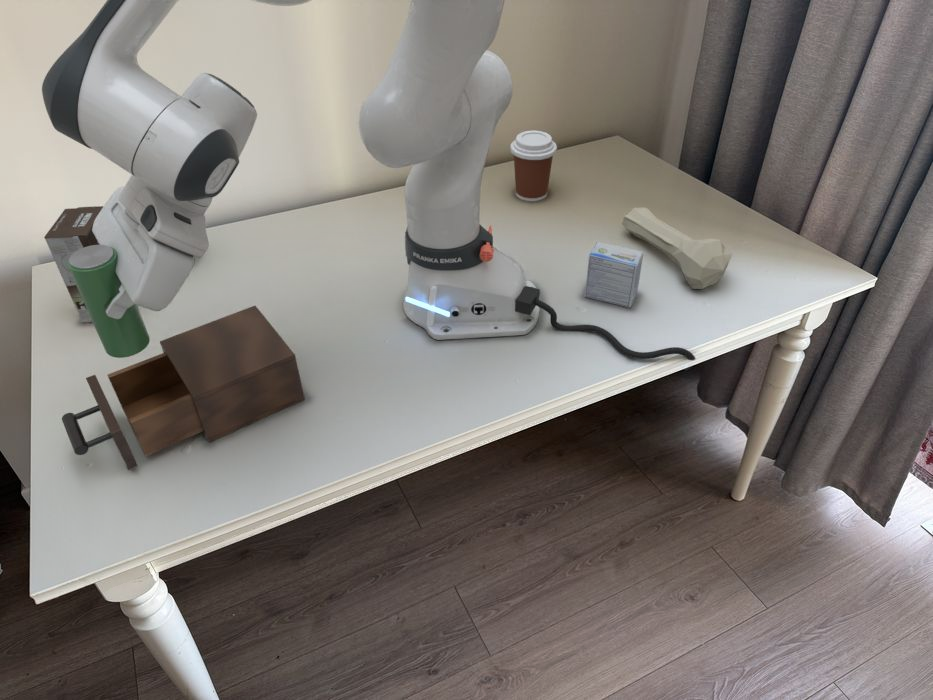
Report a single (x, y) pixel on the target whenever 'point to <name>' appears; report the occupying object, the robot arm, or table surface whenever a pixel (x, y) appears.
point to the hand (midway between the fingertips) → (104, 301)
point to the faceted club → (681, 248)
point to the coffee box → (72, 246)
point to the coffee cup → (532, 164)
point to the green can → (96, 287)
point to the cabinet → (235, 371)
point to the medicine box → (613, 274)
